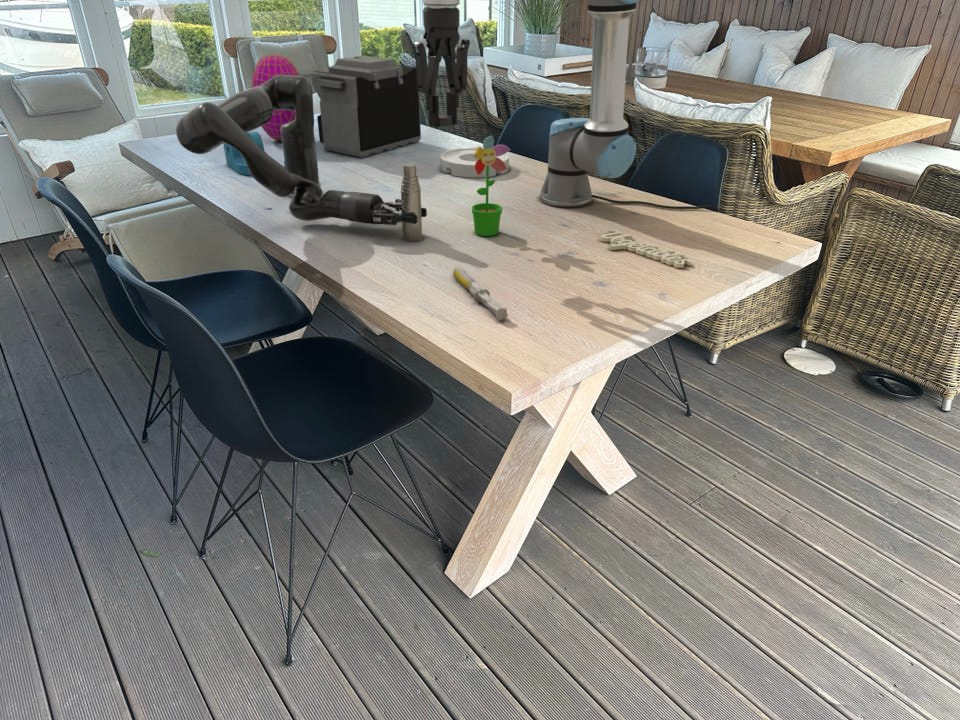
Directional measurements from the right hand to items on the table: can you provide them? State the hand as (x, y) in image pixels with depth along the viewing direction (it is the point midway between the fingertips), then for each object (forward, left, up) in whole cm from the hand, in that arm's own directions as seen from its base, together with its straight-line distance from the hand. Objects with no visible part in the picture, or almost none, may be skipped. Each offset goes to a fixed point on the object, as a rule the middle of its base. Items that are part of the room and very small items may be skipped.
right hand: (442, 124), depth 152 cm
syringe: (-18, +20, -30) cm, 40 cm away
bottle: (+11, -4, -30) cm, 32 cm away
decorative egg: (+109, -74, -30) cm, 135 cm away
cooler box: (+74, -82, -30) cm, 115 cm away
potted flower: (-4, -17, -30) cm, 34 cm away
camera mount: (+92, -37, -30) cm, 104 cm away
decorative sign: (-43, -22, -30) cm, 56 cm away
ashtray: (+26, -72, -30) cm, 82 cm away
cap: (0, 0, +2) cm, 2 cm away
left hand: (+9, -5, -24) cm, 26 cm away
